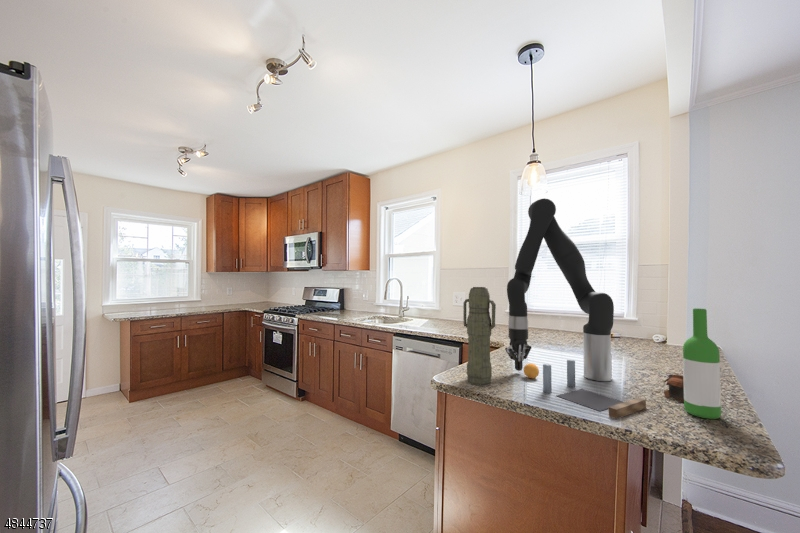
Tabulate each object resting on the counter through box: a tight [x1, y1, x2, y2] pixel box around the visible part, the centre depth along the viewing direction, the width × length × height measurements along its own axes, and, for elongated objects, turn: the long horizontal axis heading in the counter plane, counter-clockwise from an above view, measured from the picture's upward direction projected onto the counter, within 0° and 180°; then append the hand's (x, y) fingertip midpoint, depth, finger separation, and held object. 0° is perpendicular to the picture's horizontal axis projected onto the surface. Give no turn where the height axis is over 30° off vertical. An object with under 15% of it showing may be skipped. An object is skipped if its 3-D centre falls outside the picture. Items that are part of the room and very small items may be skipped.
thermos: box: [463, 286, 497, 387], centre depth 121 cm, size 9×12×35 cm
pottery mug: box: [663, 374, 684, 403], centre depth 105 cm, size 12×10×8 cm
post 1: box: [542, 363, 552, 394], centre depth 111 cm, size 3×3×9 cm
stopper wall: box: [608, 397, 647, 420], centre depth 94 cm, size 16×2×2 cm, turn 119°
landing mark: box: [556, 388, 624, 412], centre depth 104 cm, size 14×14×1 cm
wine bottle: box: [682, 308, 722, 420], centre depth 93 cm, size 8×8×30 cm
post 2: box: [566, 359, 576, 388], centre depth 117 cm, size 3×3×9 cm
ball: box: [523, 363, 540, 379], centre depth 126 cm, size 6×6×6 cm
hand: (518, 370), depth 132 cm, fingers closed
